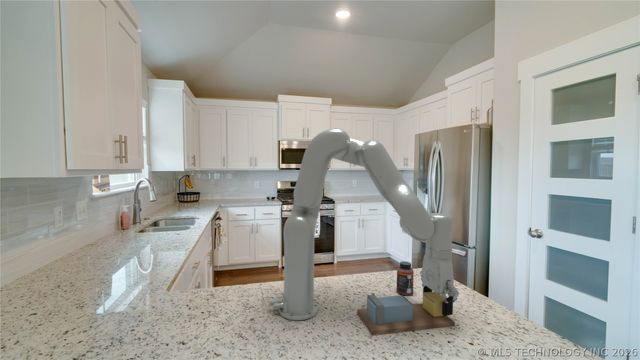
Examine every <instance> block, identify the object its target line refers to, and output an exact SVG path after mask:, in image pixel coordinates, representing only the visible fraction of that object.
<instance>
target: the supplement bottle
mask: <svg viewBox="0 0 640 360" xmlns="http://www.w3.org/2000/svg"><path fill="white" fill-rule="evenodd" d="M414 274H415V273H414V269H413V268H412V263H411V262H409V261H406V260H405V261H403V260H402V261H400V262H399V267H397V269H396V292H397V293H398V294H399V295H403V296H411V295H413V294H414Z"/></svg>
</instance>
